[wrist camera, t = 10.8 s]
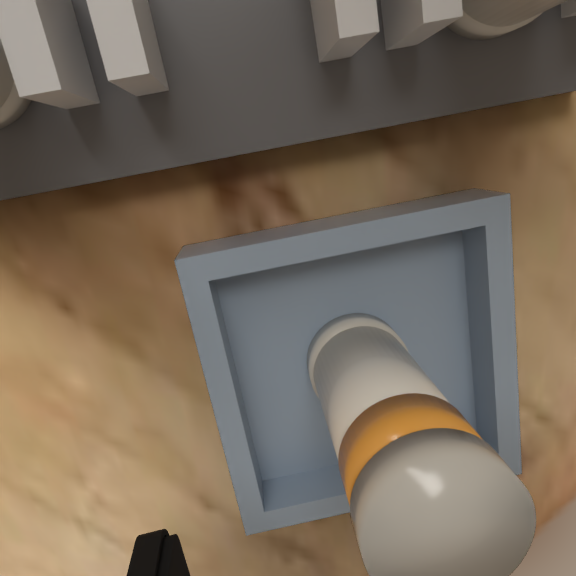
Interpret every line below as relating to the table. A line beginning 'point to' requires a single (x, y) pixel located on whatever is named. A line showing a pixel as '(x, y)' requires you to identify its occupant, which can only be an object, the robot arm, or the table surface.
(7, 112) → the domed white capsule
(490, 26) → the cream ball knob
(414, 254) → the tray
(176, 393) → the table surface
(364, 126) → the fuse holder
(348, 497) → the cylinder
